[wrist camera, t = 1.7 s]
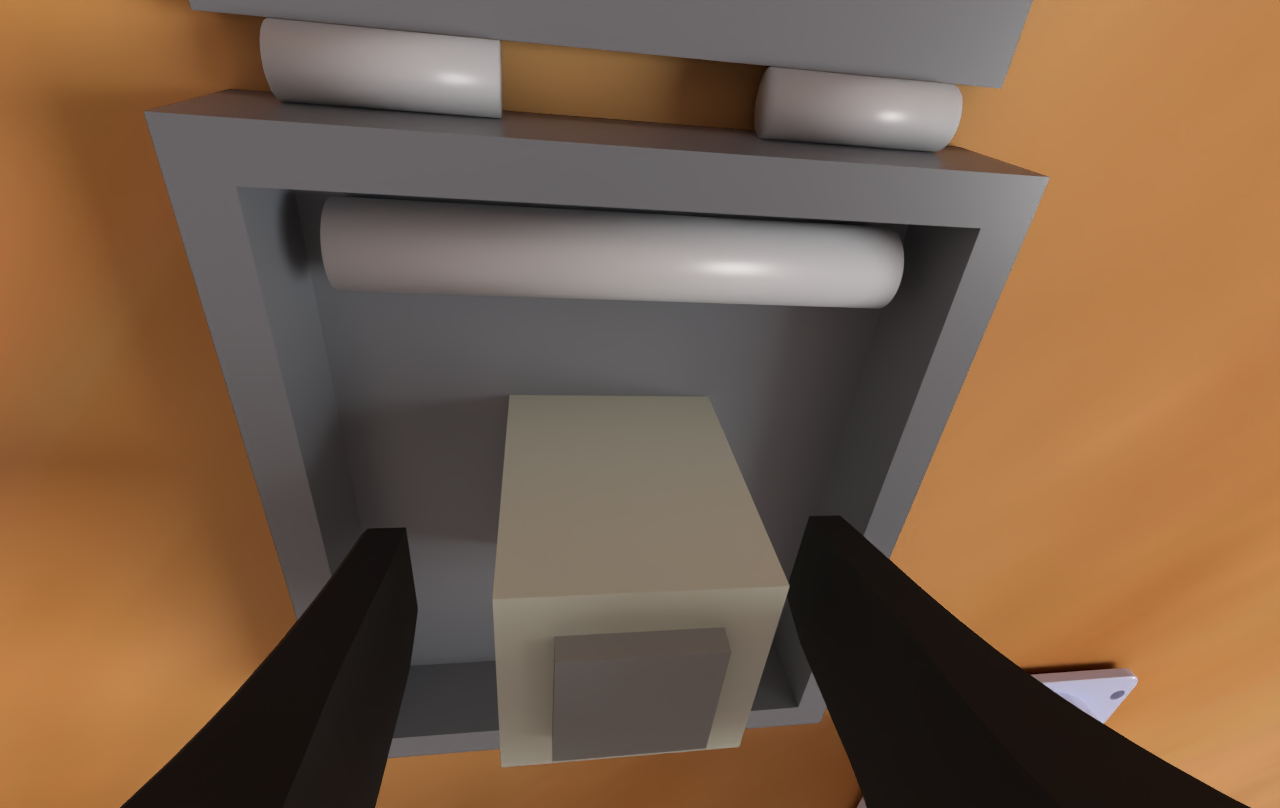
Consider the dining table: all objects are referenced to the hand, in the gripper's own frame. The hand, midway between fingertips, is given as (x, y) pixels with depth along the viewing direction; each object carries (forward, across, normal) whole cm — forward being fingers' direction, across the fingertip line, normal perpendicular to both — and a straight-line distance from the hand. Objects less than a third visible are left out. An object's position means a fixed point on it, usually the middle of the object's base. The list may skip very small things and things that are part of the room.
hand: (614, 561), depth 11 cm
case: (+3, 0, 0) cm, 3 cm away
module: (+3, 0, 0) cm, 3 cm away
